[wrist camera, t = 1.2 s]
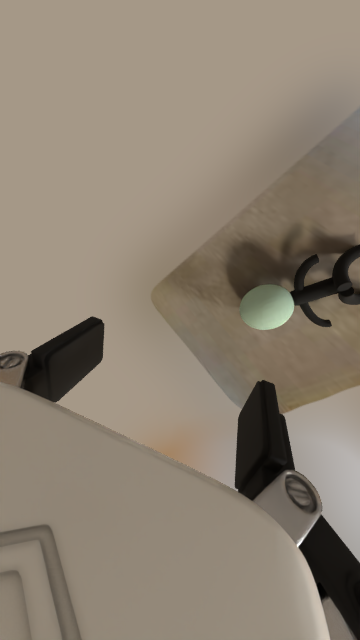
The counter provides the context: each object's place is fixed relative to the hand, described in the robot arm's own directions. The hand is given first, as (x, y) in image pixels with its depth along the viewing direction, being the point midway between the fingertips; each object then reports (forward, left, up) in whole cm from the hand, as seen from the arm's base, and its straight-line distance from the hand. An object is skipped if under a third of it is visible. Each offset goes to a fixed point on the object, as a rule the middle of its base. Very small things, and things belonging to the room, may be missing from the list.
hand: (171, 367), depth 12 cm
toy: (-1, +10, -22) cm, 24 cm away
